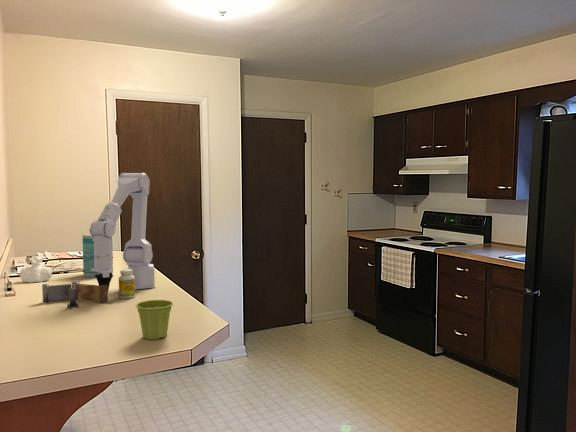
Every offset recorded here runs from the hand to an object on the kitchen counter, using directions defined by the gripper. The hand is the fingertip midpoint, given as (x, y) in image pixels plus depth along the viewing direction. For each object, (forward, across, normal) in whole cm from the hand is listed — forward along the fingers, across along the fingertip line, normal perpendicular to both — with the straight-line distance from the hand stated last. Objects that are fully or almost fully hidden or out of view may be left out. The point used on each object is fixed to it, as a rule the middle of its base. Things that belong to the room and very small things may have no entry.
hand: (104, 294), depth 165 cm
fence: (+2, -6, -13) cm, 14 cm away
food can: (+2, -49, +3) cm, 49 cm away
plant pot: (+2, +48, +7) cm, 48 cm away
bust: (+2, -46, -21) cm, 51 cm away
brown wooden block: (+2, 0, -4) cm, 4 cm away
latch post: (+2, +5, -10) cm, 12 cm away
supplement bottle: (+2, -1, +8) cm, 8 cm away
